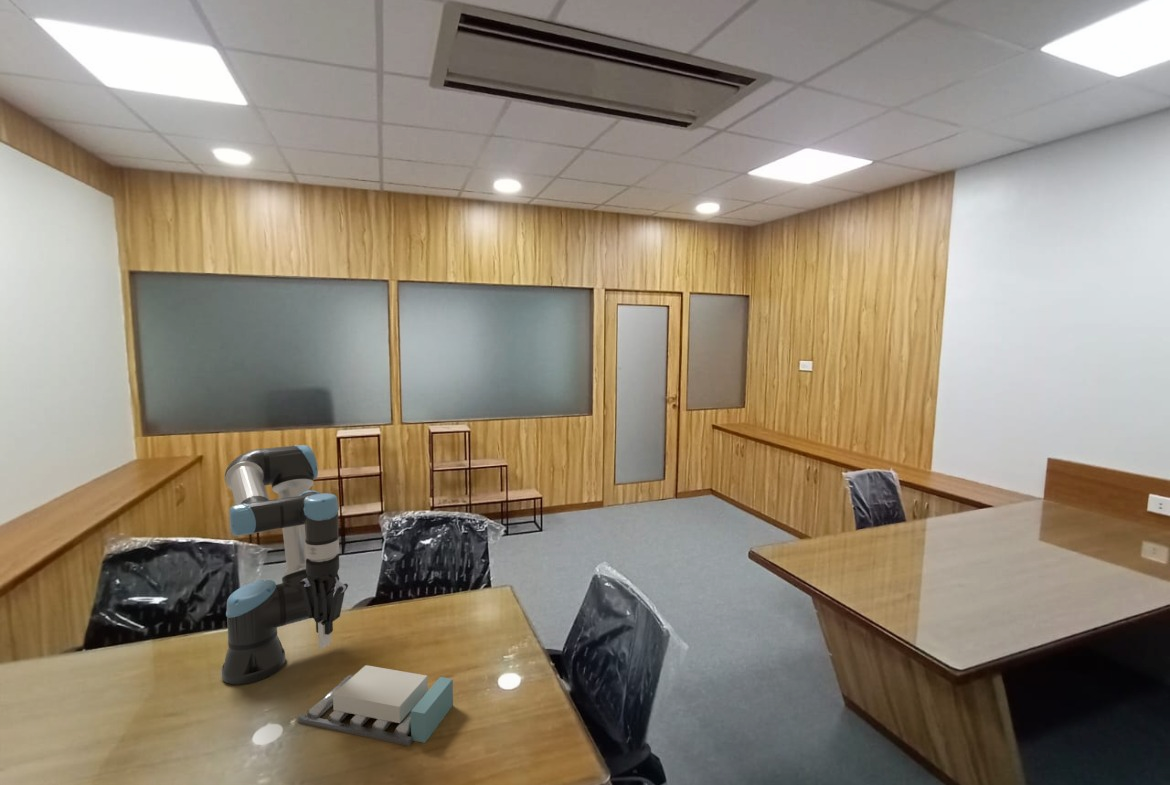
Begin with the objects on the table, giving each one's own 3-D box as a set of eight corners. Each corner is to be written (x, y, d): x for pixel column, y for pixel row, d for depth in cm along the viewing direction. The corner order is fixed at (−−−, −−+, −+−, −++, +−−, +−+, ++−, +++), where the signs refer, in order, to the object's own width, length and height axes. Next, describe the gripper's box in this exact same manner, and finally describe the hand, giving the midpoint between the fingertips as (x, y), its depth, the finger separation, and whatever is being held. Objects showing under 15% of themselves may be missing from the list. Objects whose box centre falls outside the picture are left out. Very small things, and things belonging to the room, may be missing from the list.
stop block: (411, 740, 118) (410, 711, 118) (440, 703, 131) (440, 676, 130) (424, 742, 118) (424, 713, 117) (453, 705, 130) (452, 678, 130)
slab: (333, 710, 124) (332, 694, 124) (366, 679, 135) (365, 665, 135) (399, 723, 119) (399, 706, 119) (427, 690, 131) (427, 675, 131)
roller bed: (409, 745, 117) (408, 733, 116) (298, 722, 124) (297, 710, 124) (445, 699, 132) (445, 688, 132) (345, 681, 140) (345, 670, 140)
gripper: (289, 558, 128) (292, 648, 130) (334, 565, 125) (336, 657, 127) (312, 547, 135) (314, 632, 138) (354, 553, 132) (356, 640, 134)
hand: (324, 644), depth 132 cm, fingers closed
